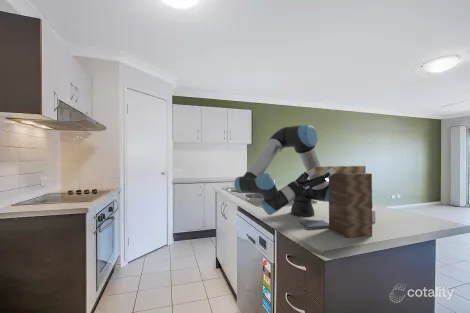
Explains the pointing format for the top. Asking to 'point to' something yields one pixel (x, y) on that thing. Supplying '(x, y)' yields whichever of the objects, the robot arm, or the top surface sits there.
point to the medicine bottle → (373, 216)
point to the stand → (350, 204)
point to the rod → (341, 169)
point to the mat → (315, 224)
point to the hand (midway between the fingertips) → (325, 168)
